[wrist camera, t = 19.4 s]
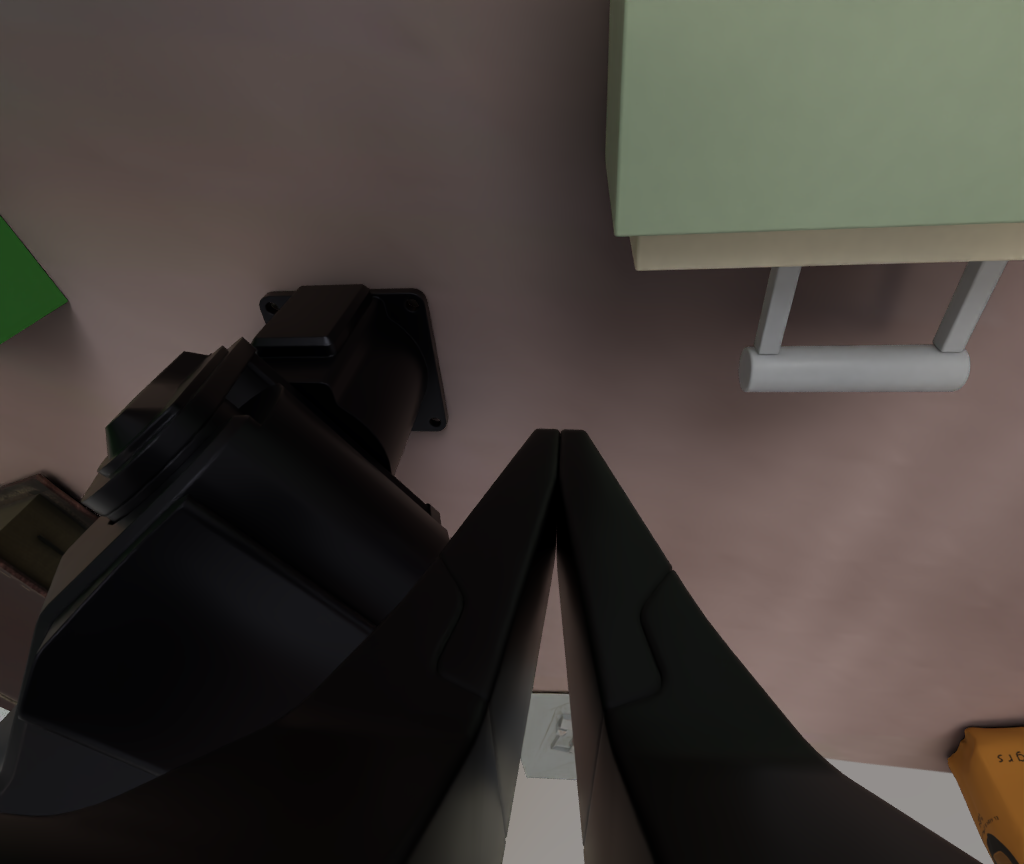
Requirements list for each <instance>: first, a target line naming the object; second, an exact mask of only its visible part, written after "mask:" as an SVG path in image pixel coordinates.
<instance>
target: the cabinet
mask: <svg viewBox="0 0 1024 864" xmlns="http://www.w3.org/2000/svg"><path fill="white" fill-rule="evenodd" d="M605 163H606V171H607V179H608V188H609V196H610V204H611V212H612V221H613V229H614V234H615V236H617V237H629V236H657V235H685V234H714V233H742V232H770V231H799V230H827V229H855V228H884V227H912V226H940V225H969V224H997V223H1024V0H610V17H609V50H608V83H607V116H606V149H605Z"/></svg>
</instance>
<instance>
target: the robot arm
mask: <svg viewBox="0 0 1024 864" xmlns="http://www.w3.org/2000/svg"><path fill="white" fill-rule="evenodd" d="M409 299H413V300H415V301H416V302H417V303H418V305H419V306H417V307H414V306H411V305H410V304H409V302H408V300H409ZM270 302H271V303H274V304H276V305H277V306H278V308H279V310H277V309H275V308H273V307H272V306H271V304H270ZM259 305H260V310H261V312H262V315H263V318H264V320H265V323H266V325H265V326H264V327H263V328H262V330H261V331H260V332H259V333H258V334H257V335H256V336H255V338H254V339H253V341H252V342H251V344H250V343H249V342H248V341H247V340H245V339H244V338H243V337H241V338H240V339H239V340H238V341H237V342H235V343H234V344H233V345H232V346H231V347H230V348H228V349H226V348H225V347H224V346H221V347H220V348H219V349H218V350H216V351H215V352H214V353H213V354H210V355H203V354H197V353H191V352H185V351H184V352H183V353H182V354H181V355H179V356H178V357H177V358H176V359H175V360H174V361H173V362H172V363H171V364H170V365H169V366H168V367H166V368H165V369H164V370H163V371H162V372H161V373H160V374H159V375H158V376H157V377H156V378H155V379H154V380H153V381H152V382H151V383H150V384H149V385H147V386H146V387H145V388H144V389H143V390H142V391H141V392H140V393H139V394H138V395H137V396H136V397H135V398H134V399H133V400H132V401H131V402H130V403H129V404H128V405H127V406H126V407H125V408H124V409H123V410H122V411H121V412H120V413H119V414H118V415H117V416H116V417H115V418H114V419H113V420H112V421H111V422H110V423H109V424H108V425H107V427H106V428H105V430H106V441H107V453H108V456H107V457H106V458H105V460H104V461H103V462H102V464H101V465H100V467H99V468H98V470H97V472H99V473H98V475H97V476H96V478H95V479H94V481H93V482H92V484H91V486H90V487H89V489H88V490H87V492H86V493H85V495H84V497H83V498H82V500H81V503H82V504H84V505H85V506H87V507H89V508H90V509H92V510H93V511H95V512H97V513H98V514H100V515H101V516H100V517H99V518H98V519H97V520H96V521H95V522H94V523H93V524H92V525H91V526H90V527H89V528H88V529H87V530H86V531H85V532H84V533H83V534H82V535H81V537H80V538H79V539H78V540H77V541H76V542H75V543H74V544H73V545H72V546H71V547H70V548H69V549H68V550H67V551H66V552H65V554H64V555H63V556H62V558H61V560H60V563H59V565H58V568H57V570H56V573H55V576H54V578H53V581H52V583H51V586H50V589H49V591H48V594H47V596H46V599H45V602H44V604H43V607H42V609H41V612H40V615H39V617H38V620H37V622H36V625H35V629H34V633H33V638H32V642H31V646H30V650H29V655H28V659H27V663H26V668H25V672H24V676H23V680H22V685H21V689H20V693H19V697H18V702H17V705H16V706H15V707H14V708H13V709H12V710H11V711H10V712H9V713H8V715H7V716H6V717H5V718H4V719H3V720H2V721H1V722H0V864H502V861H503V855H504V850H505V844H506V841H505V838H506V837H507V832H508V826H509V821H510V815H511V809H512V803H513V798H514V792H515V786H516V779H517V774H518V769H519V763H520V758H521V752H522V746H523V740H524V735H525V729H526V723H527V717H528V712H529V706H530V700H531V694H532V689H533V683H534V677H535V672H536V666H537V660H538V654H539V649H540V643H541V637H542V631H543V626H544V620H545V614H546V608H547V603H548V597H549V591H550V586H551V580H552V574H553V568H554V561H555V553H556V536H557V554H556V556H557V571H558V582H559V593H560V603H561V614H562V625H563V635H564V646H565V657H566V668H567V678H568V689H569V700H570V711H571V721H572V732H573V743H574V754H575V764H576V775H577V786H578V796H579V807H580V818H581V829H582V838H583V846H584V861H585V864H983V863H981V862H979V861H978V860H976V859H975V858H973V857H971V856H970V855H968V854H967V853H965V852H964V851H962V850H961V849H959V848H957V847H956V846H954V845H953V844H951V843H950V842H948V841H947V840H945V839H943V838H942V837H940V836H939V835H937V834H936V833H934V832H932V831H931V830H929V829H928V828H926V827H925V826H923V825H922V824H920V823H918V822H917V821H915V820H913V819H912V818H911V817H909V816H907V815H906V814H904V813H903V812H901V811H900V810H898V809H897V808H895V807H893V806H892V805H890V804H889V803H887V802H886V801H884V800H882V799H881V798H879V797H878V796H876V795H875V794H873V793H871V792H870V791H868V790H867V789H865V788H864V787H862V786H860V785H859V784H857V783H856V782H854V781H853V780H851V779H850V778H848V777H847V776H845V775H844V774H842V773H841V772H840V771H839V770H838V769H836V768H835V767H834V766H833V765H831V764H830V763H829V762H828V761H827V760H826V759H825V758H823V757H822V756H821V755H820V754H819V753H818V752H817V751H816V750H815V749H814V748H813V747H812V746H811V745H810V744H809V743H808V742H807V741H806V740H805V739H804V738H803V737H802V735H801V734H800V733H799V732H798V731H797V730H796V728H795V727H794V726H793V725H792V724H791V722H790V721H789V720H788V719H787V718H786V716H785V715H784V714H783V713H782V711H781V710H780V709H779V708H778V707H777V705H776V704H775V703H774V702H773V700H772V699H771V698H770V697H769V696H768V694H767V693H766V692H765V691H764V689H763V688H762V687H761V686H760V685H759V683H758V682H757V681H756V680H755V678H754V677H753V676H752V675H751V674H750V672H749V671H748V670H747V669H746V667H745V666H744V665H743V664H742V663H741V661H740V660H739V659H738V658H737V656H736V655H735V654H734V653H733V652H732V650H731V649H730V648H729V647H728V645H727V644H726V643H725V641H724V640H723V639H722V638H721V636H720V635H719V634H718V632H717V631H716V630H715V629H714V627H713V626H712V625H711V623H710V622H709V621H708V620H707V618H706V617H705V615H704V614H703V613H702V611H701V610H700V608H699V607H698V605H697V604H696V602H695V601H694V599H693V598H692V596H691V595H690V594H689V592H688V591H687V589H686V588H685V586H684V584H683V583H682V581H681V580H680V578H679V576H678V575H677V573H676V572H675V571H674V570H672V566H671V564H670V563H669V561H668V560H667V558H666V556H665V555H664V553H663V552H662V550H661V549H660V547H659V545H658V544H657V542H656V541H655V539H654V538H653V536H652V534H651V533H650V531H649V530H648V528H647V527H646V525H645V523H644V522H643V520H642V519H641V517H640V516H639V514H638V512H637V511H636V509H635V508H634V506H633V505H632V503H631V501H630V500H629V498H628V497H627V495H626V494H625V492H624V490H623V489H622V487H621V486H620V484H619V483H618V481H617V479H616V478H615V476H614V475H613V473H612V472H611V470H610V469H609V467H608V465H607V464H606V462H605V461H604V459H603V458H602V456H601V454H600V453H599V451H598V450H597V448H596V447H595V445H594V443H593V442H592V440H591V439H590V437H589V436H588V434H587V433H586V432H585V431H584V430H568V429H564V430H562V431H561V433H560V432H559V430H557V429H536V430H534V432H533V433H532V434H531V435H530V437H529V438H528V439H527V441H526V442H525V443H524V444H523V446H522V447H521V448H520V450H519V451H518V452H517V454H516V455H515V456H514V457H513V459H512V460H511V461H510V463H509V464H508V465H507V467H506V468H505V469H504V470H503V472H502V473H501V474H500V476H499V477H498V478H497V480H496V481H495V482H494V483H493V485H492V486H491V487H490V489H489V490H488V491H487V493H486V494H485V495H484V496H483V498H482V499H481V500H480V502H479V503H478V504H477V506H476V507H475V508H474V509H473V511H472V512H471V513H470V515H469V516H468V517H467V519H466V520H465V521H464V522H463V524H462V525H461V526H460V528H459V529H458V530H457V532H456V533H455V534H454V535H453V537H452V538H451V539H450V540H449V536H448V532H447V530H446V529H445V528H444V527H443V526H442V525H441V520H440V513H439V512H438V511H437V510H436V509H435V508H434V507H432V506H431V505H430V504H425V503H424V502H423V501H421V500H420V499H419V498H418V497H417V496H416V495H415V494H414V493H412V492H411V491H410V490H409V489H408V488H407V487H406V486H405V485H403V484H402V483H401V482H400V481H399V480H398V479H397V478H396V477H394V475H395V472H396V469H397V467H398V464H399V461H400V459H401V456H402V453H403V451H404V448H405V445H406V443H407V440H408V437H409V435H410V432H411V431H441V430H443V429H444V428H445V427H446V425H447V422H448V413H447V407H446V402H445V396H444V391H443V385H442V379H441V374H440V368H439V363H438V357H437V351H436V346H435V340H434V335H433V329H432V324H431V318H430V312H429V307H428V301H427V298H426V296H425V294H424V293H423V292H422V291H420V290H418V289H414V288H400V289H370V288H368V287H366V286H365V285H363V284H352V285H314V286H301V287H299V289H298V290H297V291H283V292H269V293H267V294H266V295H265V296H264V297H263V298H262V299H261V300H260V303H259ZM432 418H438V419H439V420H440V421H435V420H433V419H432Z"/></svg>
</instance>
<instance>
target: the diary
mask: <svg viewBox="0 0 1024 864" xmlns="http://www.w3.org/2000/svg"><path fill="white" fill-rule="evenodd" d="M97 519H98V517H97V516H96V515H94V514H93V513H92V512H90V511H89V510H88V509H86V508H85V507H83V506H82V505H81V504H79V503H78V502H77V501H75V500H74V499H73V498H71V497H70V496H68V495H67V494H66V493H64V492H63V491H62V490H60V489H59V488H58V487H56V486H55V485H54V484H52V483H51V482H50V481H49V480H47V479H46V478H45V477H44V476H42V475H41V474H38V475H35V476H32V477H29V478H26V479H23V480H21V481H18V482H15V483H12V484H9V485H6V486H3V487H1V488H0V707H2V708H4V709H6V710H9V711H11V710H12V709H13V708H14V707H15V706H16V705H17V702H18V697H19V693H20V689H21V685H22V680H23V676H24V672H25V668H26V663H27V659H28V655H29V650H30V646H31V642H32V638H33V633H34V629H35V625H36V622H37V620H38V617H39V615H40V612H41V609H42V607H43V604H44V602H45V599H46V596H47V594H48V591H49V589H50V586H51V583H52V581H53V578H54V576H55V573H56V570H57V568H58V565H59V563H60V560H61V558H62V556H63V555H64V554H65V552H66V551H67V550H68V549H69V548H70V547H71V546H72V545H73V544H74V543H75V542H76V541H77V540H78V539H79V538H80V537H81V535H82V534H83V533H84V532H85V531H86V530H87V529H88V528H89V527H90V526H91V525H92V524H93V523H94V522H95V521H96V520H97Z"/></svg>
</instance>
